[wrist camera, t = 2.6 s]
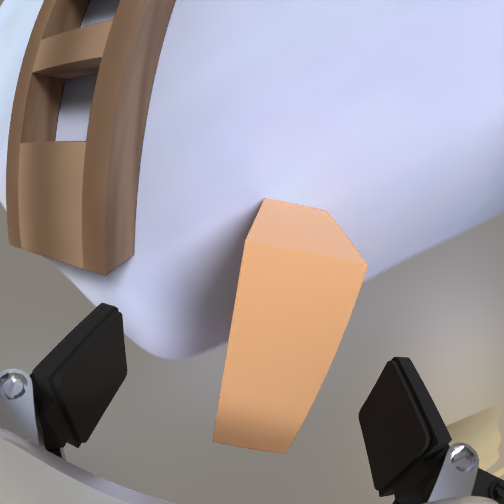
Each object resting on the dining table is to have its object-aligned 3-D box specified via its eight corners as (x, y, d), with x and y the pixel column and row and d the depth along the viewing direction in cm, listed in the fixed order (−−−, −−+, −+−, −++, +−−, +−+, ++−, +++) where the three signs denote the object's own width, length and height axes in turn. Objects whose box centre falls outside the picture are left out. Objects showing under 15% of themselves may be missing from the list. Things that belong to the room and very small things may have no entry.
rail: (207, -75, 8) (195, -101, 5) (134, 254, 15) (105, 275, 12) (103, -53, 8) (83, -70, 5) (39, 231, 15) (9, 244, 12)
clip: (327, 211, 13) (368, 264, 6) (288, 353, 16) (286, 453, 9) (264, 197, 13) (245, 239, 7) (237, 343, 16) (212, 441, 9)
